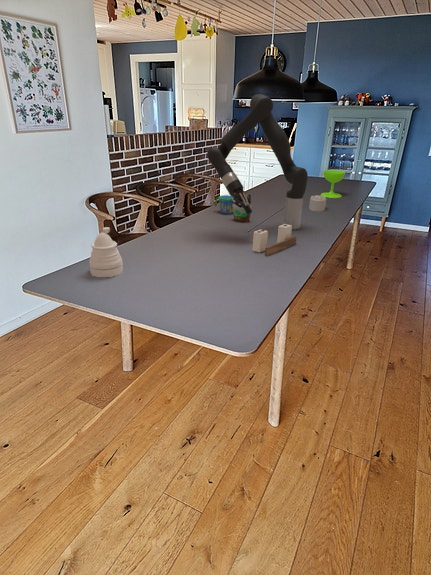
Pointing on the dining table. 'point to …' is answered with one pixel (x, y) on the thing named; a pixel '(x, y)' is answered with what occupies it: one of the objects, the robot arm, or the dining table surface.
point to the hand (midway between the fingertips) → (250, 213)
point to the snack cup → (225, 204)
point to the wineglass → (333, 177)
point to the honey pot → (105, 256)
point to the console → (280, 246)
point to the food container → (241, 214)
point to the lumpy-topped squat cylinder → (317, 203)
